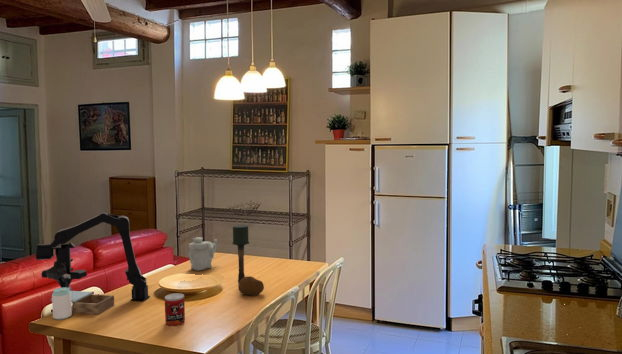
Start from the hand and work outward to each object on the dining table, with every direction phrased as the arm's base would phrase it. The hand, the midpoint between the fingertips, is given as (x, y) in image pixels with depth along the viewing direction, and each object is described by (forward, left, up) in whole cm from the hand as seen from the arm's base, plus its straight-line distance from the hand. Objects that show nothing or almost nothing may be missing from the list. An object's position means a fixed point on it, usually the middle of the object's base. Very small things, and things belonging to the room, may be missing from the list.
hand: (64, 292), depth 212 cm
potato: (-76, -30, -7) cm, 82 cm away
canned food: (-57, +9, -7) cm, 58 cm away
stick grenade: (-66, -47, -7) cm, 81 cm away
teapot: (-34, -74, -7) cm, 82 cm away
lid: (-4, 0, -2) cm, 4 cm away
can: (-7, +11, -7) cm, 15 cm away
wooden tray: (-14, 0, -7) cm, 16 cm away
